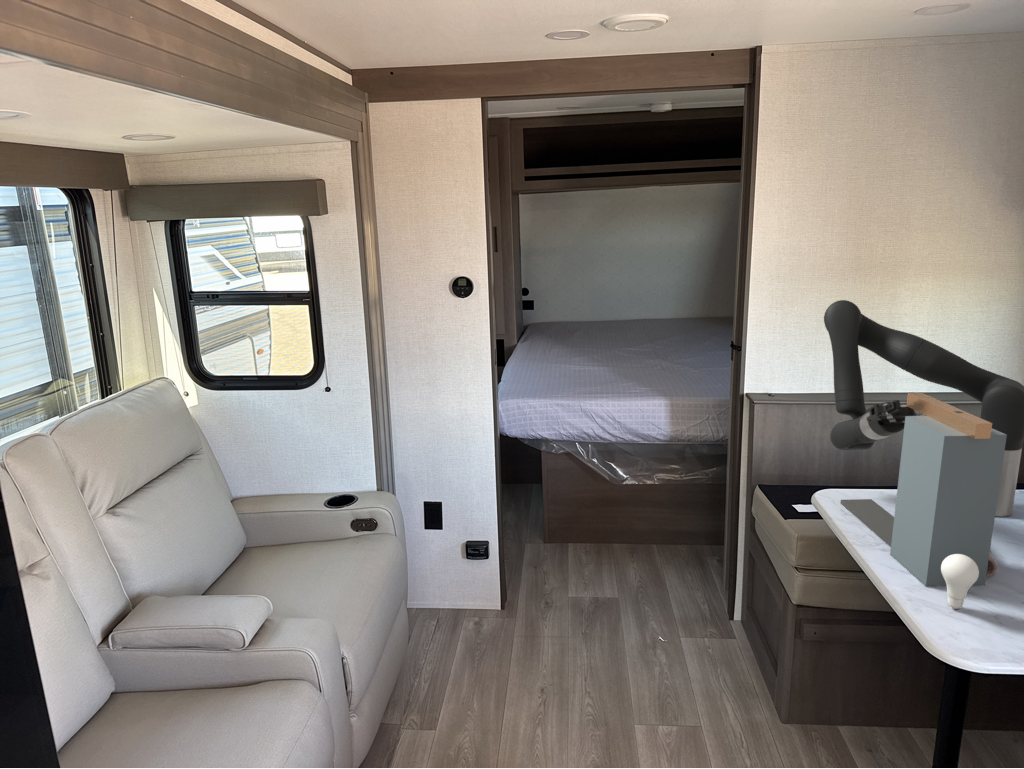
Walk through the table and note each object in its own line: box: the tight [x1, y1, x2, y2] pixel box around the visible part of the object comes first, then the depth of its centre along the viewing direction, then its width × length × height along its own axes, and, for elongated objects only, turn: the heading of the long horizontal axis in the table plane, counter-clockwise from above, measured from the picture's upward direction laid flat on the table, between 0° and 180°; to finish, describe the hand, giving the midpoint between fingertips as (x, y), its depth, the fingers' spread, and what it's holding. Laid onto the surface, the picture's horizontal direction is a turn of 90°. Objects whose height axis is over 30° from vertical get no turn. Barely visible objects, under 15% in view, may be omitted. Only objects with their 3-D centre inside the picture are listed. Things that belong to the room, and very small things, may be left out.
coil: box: [986, 553, 998, 579], centre depth 157 cm, size 5×5×18 cm
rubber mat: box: [840, 498, 894, 548], centre depth 175 cm, size 26×8×1 cm, turn 0°
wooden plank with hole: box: [905, 392, 992, 439], centre depth 148 cm, size 24×3×3 cm, turn 0°
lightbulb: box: [941, 554, 979, 610], centre depth 137 cm, size 6×6×11 cm
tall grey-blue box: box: [889, 416, 1007, 588], centre depth 149 cm, size 14×12×32 cm
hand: (918, 403), depth 158 cm, fingers open, 8 cm apart
